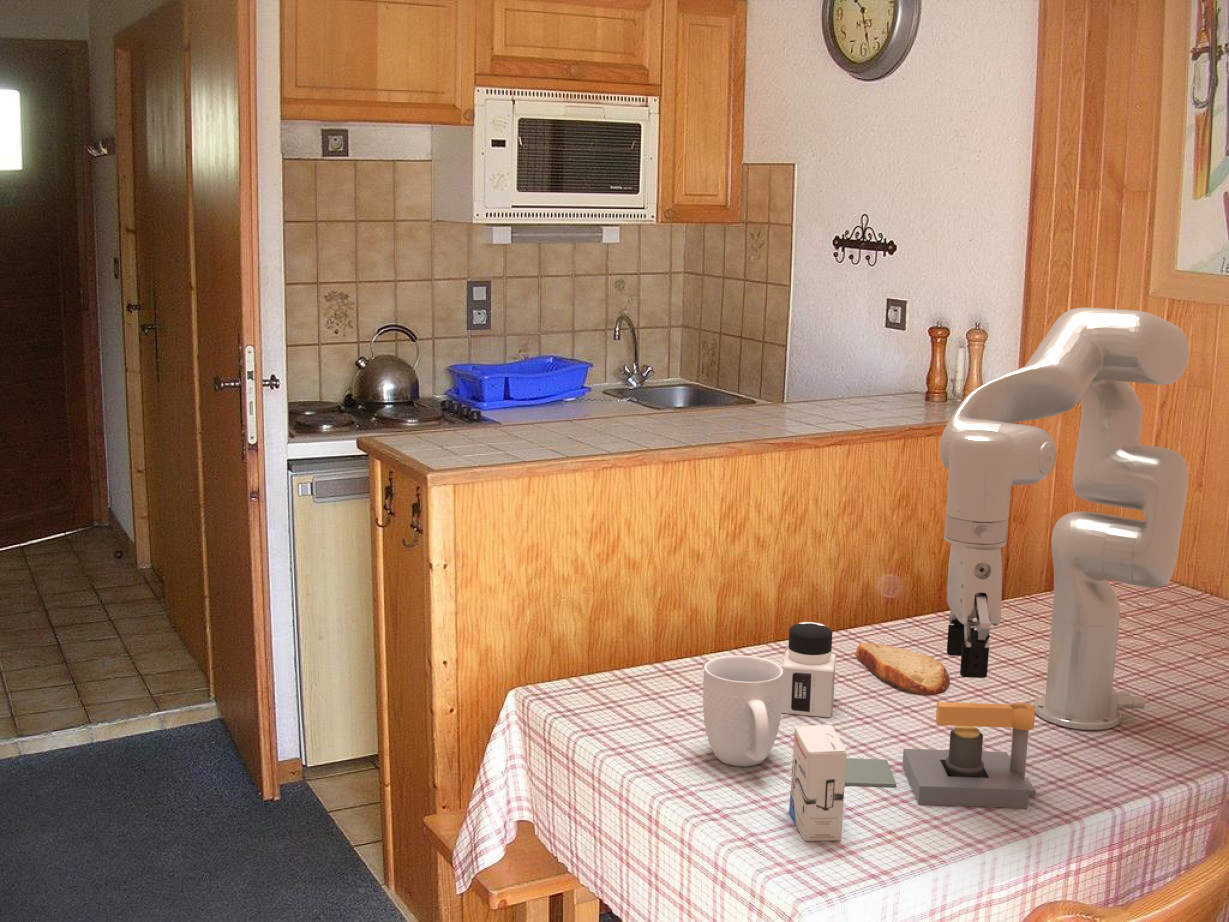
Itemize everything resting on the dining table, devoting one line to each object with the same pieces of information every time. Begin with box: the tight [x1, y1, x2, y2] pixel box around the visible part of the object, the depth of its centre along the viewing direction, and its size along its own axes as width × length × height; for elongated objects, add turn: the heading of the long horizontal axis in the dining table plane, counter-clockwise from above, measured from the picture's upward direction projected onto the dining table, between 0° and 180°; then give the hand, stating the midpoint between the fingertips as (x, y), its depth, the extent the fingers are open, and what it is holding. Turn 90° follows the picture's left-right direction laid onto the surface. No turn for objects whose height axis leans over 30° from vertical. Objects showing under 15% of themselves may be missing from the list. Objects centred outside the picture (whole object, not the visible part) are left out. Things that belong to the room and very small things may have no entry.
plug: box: [946, 726, 984, 778], centre depth 175 cm, size 5×5×8 cm
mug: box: [702, 654, 783, 767], centre depth 180 cm, size 15×11×13 cm
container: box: [781, 621, 837, 718], centre depth 201 cm, size 8×8×13 cm
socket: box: [902, 728, 1037, 809], centre depth 174 cm, size 16×12×8 cm
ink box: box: [788, 724, 847, 842], centre depth 162 cm, size 9×5×12 cm, turn 5°
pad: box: [845, 757, 897, 788], centre depth 179 cm, size 8×8×1 cm
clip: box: [935, 701, 1036, 731], centre depth 173 cm, size 13×3×3 cm, turn 88°
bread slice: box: [854, 642, 951, 697], centre depth 218 cm, size 18×18×4 cm
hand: (966, 664), depth 166 cm, fingers open, 7 cm apart
